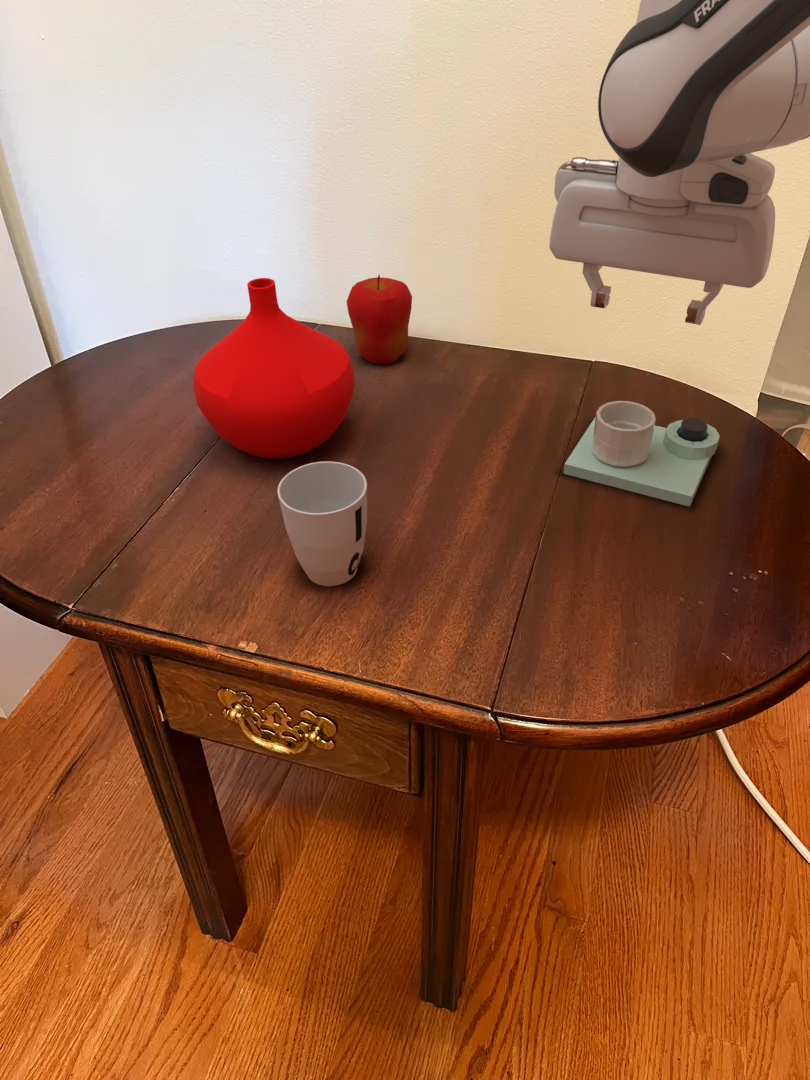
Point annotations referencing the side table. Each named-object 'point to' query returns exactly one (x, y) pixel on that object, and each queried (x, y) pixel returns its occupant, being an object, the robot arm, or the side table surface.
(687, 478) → the scale
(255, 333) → the vase
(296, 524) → the cup
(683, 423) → the tare button
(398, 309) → the apple
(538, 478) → the side table surface
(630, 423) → the bowl
